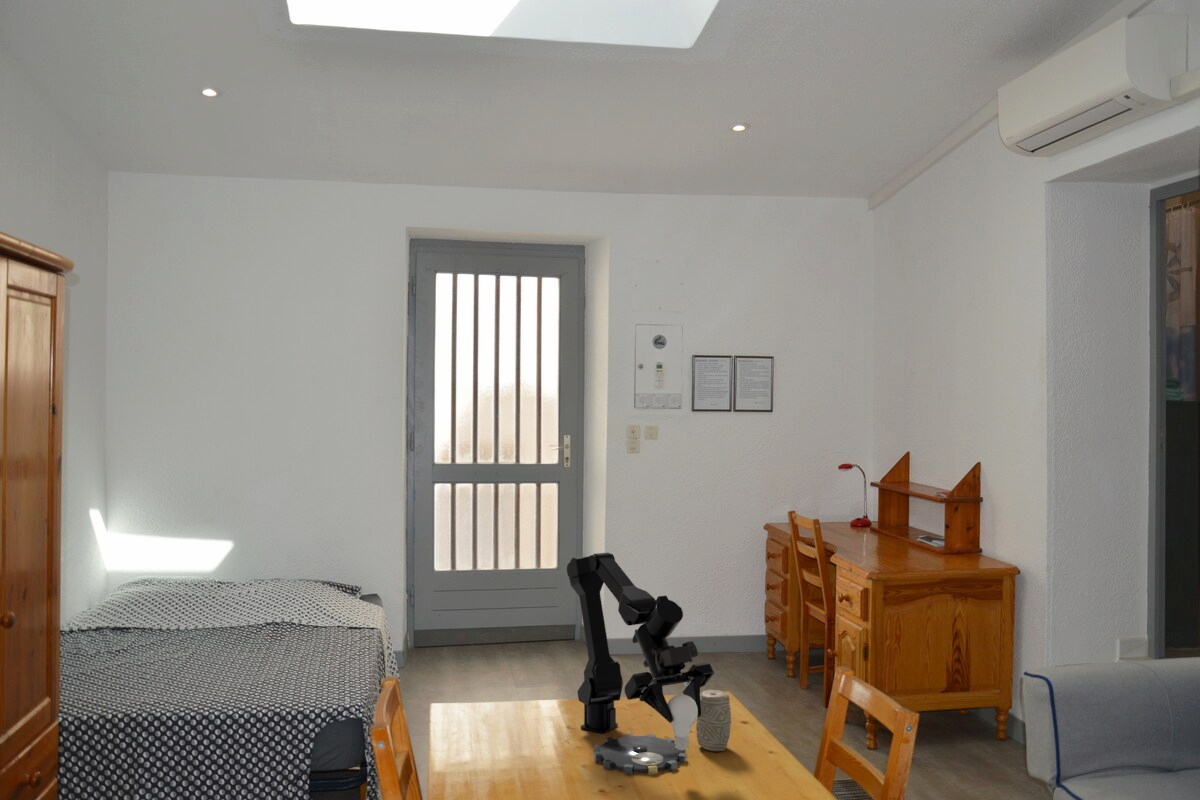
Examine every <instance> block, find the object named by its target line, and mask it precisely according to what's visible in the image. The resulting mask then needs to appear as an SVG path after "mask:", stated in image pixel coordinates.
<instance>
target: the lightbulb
mask: <svg viewBox="0 0 1200 800" xmlns="http://www.w3.org/2000/svg"><path fill="white" fill-rule="evenodd" d="M667 704H668V707H669V709H670V711H671V714H672V717H673V721H672V722H671V723H670V724H671V726H672V729H673V733H674V738H675V739H674V740H675V747H676V748H677V749H679V750H681V751H683V750H685V749H686V750H688V748H689V745H690V744H689V741H690V740H689V738H690V737H689V736H690V733H691V731H692V726H693V725H694V724H695V723H696V721H697V716H698V707H697V704H696V702H695V701H694V700H693V699H692V698H691V697H690V696H688V695H685V694H683V693H679V694H675V695H674V696H671V698H670V699H669V700H668V701H667Z"/></svg>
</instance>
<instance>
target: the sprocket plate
mask: <svg viewBox="0 0 1200 800" xmlns="http://www.w3.org/2000/svg"><path fill="white" fill-rule="evenodd" d="M593 748H594V749H593V750H594V751H593V760H594V762H595V763H602V764H603V765H602V767H603V769H605V770H607V771H612V770H618V771H622V772H623V775H631V776H632V775H633V774H634V773H640V774H641V773H647V775H649V776H652V775H658V772H660V771H661V772H662V771H665V770H667V771H669V772H670V771H671V772H673V771H676V770H678V764H686V762H687V753H686V752H687V749H685V750H683V751H681V750H679V749H677V748H676V747H675V739H673V738H670V737H666V738H661V737H656V734H650V733H647V734H646V735H634V734H633V733H627V734H623V736H621V737H617V738H614V737H611V736H610V737H606V738H605V739H604V743H603V744H602V743H595V745H594V747H593Z"/></svg>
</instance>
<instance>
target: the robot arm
mask: <svg viewBox="0 0 1200 800" xmlns="http://www.w3.org/2000/svg"><path fill="white" fill-rule="evenodd" d="M566 574H567V576H568V578H569V579H568V580H569V583H570V586H571V588H572V590H573V591H575V593H576V594H577V595H578V596H579V602H580V609H581V615H582V622H583V628H584V629H583V630H584V636H585V643H586V650H587V656H588V660H587V663H586V666H585V668H584V671H583V679H584V680H583V682H582V683H581V685H580V686H579V688H578V690H577V691H576V692H577V698H578V701H579V702H581V703H582V704H583V707H584V708H583V710H584V711H583V714H584V715H583V716H584V717H583V720H584V721H583V722H584V723H583V724H582V725H580V729H581V730H586V731H591V732H596V733H600V734H605V733H608V732H609V731H611V730H612V729H614V728H616V727H618V725H619V723H618V722H617V721H616V719H617V718H616V717H617V712H616V711H617V709H616V707H615V701H620V700H621V696H622V691H623V685H624V681H623V676H622V671H621V665H620V662H619V661H615V660H614V659H613V658H612V657H611V655H610V654H611V653H610V650H609V642H608V637H607V630H606V623H605V618H604V612H603V611H604V610H603V605H602V599H601V590H602V588H603V586H604V584H605V586H606V587H607V588H608V590H609V591H610V593H611V594H612V595H613V596H614V598H615V599H616V601H617V603H618V609H617V611H618V613H619V615H620V617H621V618H622V620H623V622H624V623H625V624H626V626H636V625H637V626H638V625H639V627H638V629H634V634H633V637H632V643H633V644H637V643H638V644H639V648H640V650H641V652H642V655H643V657H644V659H645V660H644V661H643V662H642V663H643V666H644V668H648V670H649V671H650V672H649V671H646V672H645V671H644V672H638V673H633V674H632V675H631V677H630V679H629V680H628V681H627V682H626V684H625V686H624V694H625V696H626V699H627V701H628V700H629V701H630V700H635V699H639V701H640V702H644V703H645V704H647V705H648V706H649V707H651V708H652V709H653V710H655V712H657V713H658V714H659V715H660V716H662V717H663V718H664V719H665V720H666V721H667V722H668V723H669V724H671V722H672V721H673V717H672V714H671V711H670V709H669V707H668V704H667V703H668V701H667V700H666V698H665V697H666V696H665V695H664V691H663V687H665V686H670V685H677V684H681V683H682V684H683V685H684V690H683V691H682V694H685V695H688V696H690V697H691V698H692V699H693V700H694V701H695V702H696V704H697V707H698V716H697V717H700V716H701V703H700V695H701V688H703V687H705V686H706V684H707V683H708V682H709V681H710V679H711V678H712V677H713V675H714V674H715V671H714V669H713V666H712V664H710V663H708V662H700V663H695V664H692V665H691V666H690V668H689V669H688V670H687V671H685V672H682V670H684V669H685V667H686V664H687V663H692V662H693V661H694V660H693V658H696V657H698V655H699V652H698V648H697V645H696V644H695V642H694V640H693V641H692V640H691V641H686V642H684V643H682V645H681V646H675V645H670V643H669V642H668V639H667V638H668V637H670V636H671V635H672V633H673V632H674V631H675V629H676V628H677V627H678V625H679V623H680V622H681V621H682V619H683V617H684V612H683V609H682V607H681V606H680V605H678V604H677V602H675V601H673V600H671V599H669V598H668V596H667V595H659V596H657V598H654V596H652V594H650V593H649V592H648V591H646V590H645V589H641V588H639V587H637V586H636V585H635V584H634V583H633V581H632V580H631V579H630V577H629V576H628V575H626V573H625V572H624V570H623V568H621V567H620V565H619V564H618V563H617V562H616V558H615V556H614V554H613V553H611V552H600V553H593V554H591V555H589V556H581V557H578V556H577V557H572V558H571V559H570V561H569V563H568V564H567V565H566Z"/></svg>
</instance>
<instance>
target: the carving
mask: <svg viewBox="0 0 1200 800" xmlns="http://www.w3.org/2000/svg"><path fill="white" fill-rule="evenodd" d="M730 701H731V699H730V695H729V694H728V693H726V692H725V691H724V690H723V691H722V690H718V689H706V690H703V691H702V692H700V703H701V716H700V717H697V718H696V726H695V728H696V731H695V733H696V741H697V743H698V745H699V746H700V747H701V748H703V749H704V750H707V751H709V752H724V751H725V750H726V749H727V747H728V743H729V739H730V734H731V728H732V727H731V726H732V717H731V716H732V711H731V705H730V703H731V702H730Z"/></svg>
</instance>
